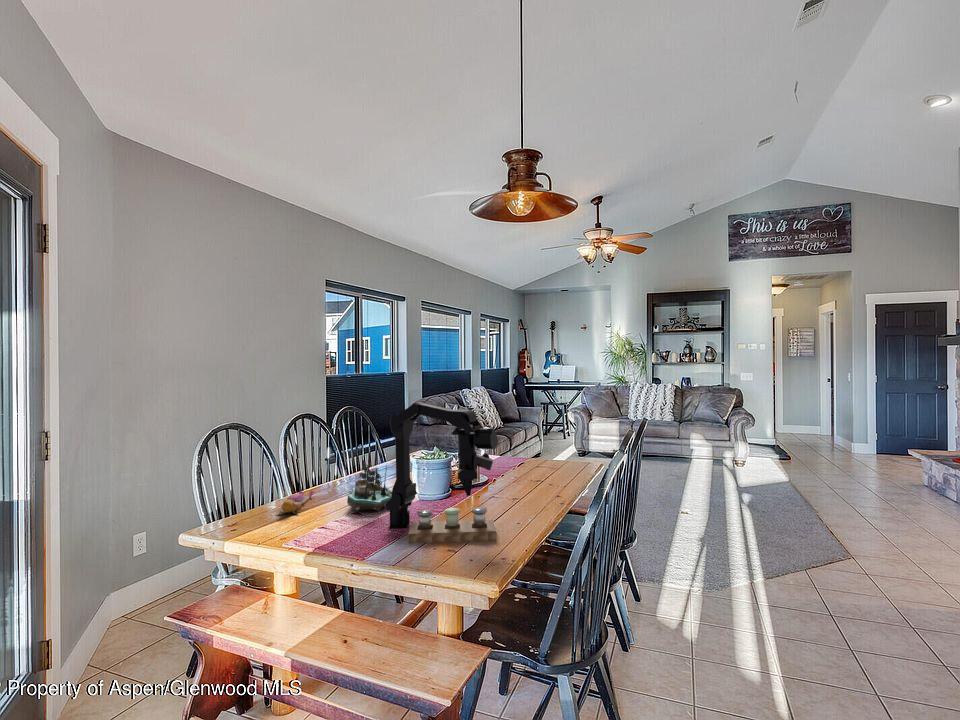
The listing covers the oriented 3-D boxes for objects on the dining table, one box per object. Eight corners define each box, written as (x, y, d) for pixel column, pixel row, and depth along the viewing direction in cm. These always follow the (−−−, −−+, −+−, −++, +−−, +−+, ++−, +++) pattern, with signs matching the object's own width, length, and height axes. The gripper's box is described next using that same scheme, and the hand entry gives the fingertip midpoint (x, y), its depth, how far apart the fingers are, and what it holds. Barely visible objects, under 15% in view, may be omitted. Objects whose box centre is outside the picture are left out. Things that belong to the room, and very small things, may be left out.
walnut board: (408, 543, 169) (408, 533, 169) (411, 530, 181) (411, 522, 181) (495, 540, 170) (495, 531, 170) (493, 528, 182) (493, 519, 182)
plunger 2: (472, 526, 173) (471, 511, 173) (471, 521, 178) (471, 507, 178) (487, 525, 174) (487, 511, 174) (486, 520, 179) (486, 507, 179)
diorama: (343, 514, 200) (347, 464, 200) (355, 498, 225) (359, 453, 225) (393, 518, 201) (397, 467, 201) (399, 501, 226) (403, 456, 226)
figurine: (320, 487, 228) (299, 500, 198) (320, 503, 227) (299, 518, 197) (292, 488, 227) (267, 500, 197) (292, 504, 227) (267, 519, 197)
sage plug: (444, 526, 173) (444, 512, 173) (445, 522, 178) (444, 508, 178) (459, 526, 173) (459, 512, 173) (459, 521, 178) (459, 507, 178)
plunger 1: (417, 528, 173) (416, 514, 173) (418, 523, 178) (418, 509, 178) (432, 528, 173) (432, 513, 173) (433, 523, 178) (432, 509, 178)
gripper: (492, 451, 166) (494, 501, 166) (489, 443, 185) (491, 487, 185) (456, 453, 166) (458, 503, 166) (457, 444, 185) (459, 489, 185)
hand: (468, 495), depth 175 cm, fingers closed
